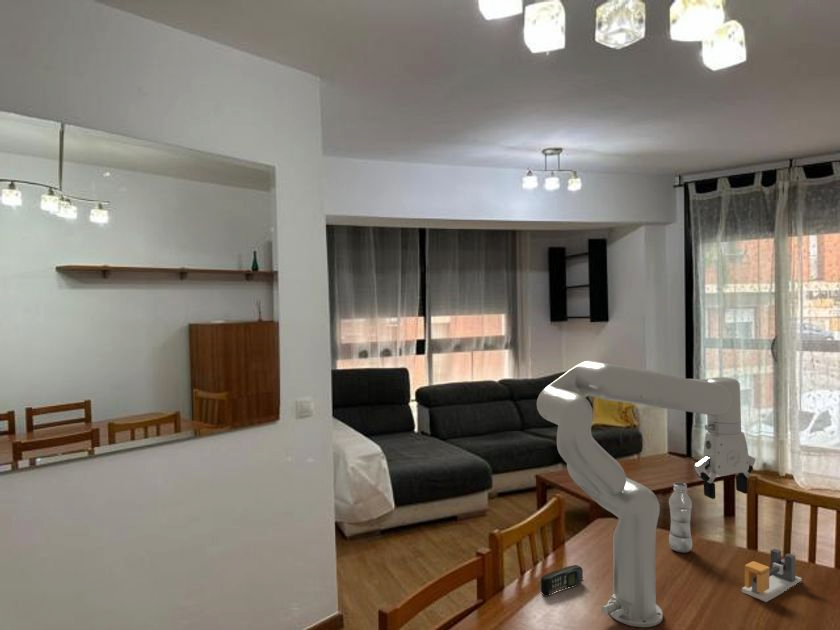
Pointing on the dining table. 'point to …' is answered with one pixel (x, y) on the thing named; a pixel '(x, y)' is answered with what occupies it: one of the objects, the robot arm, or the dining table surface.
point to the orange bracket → (761, 573)
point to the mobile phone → (561, 579)
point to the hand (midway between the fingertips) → (726, 494)
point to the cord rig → (776, 577)
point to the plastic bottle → (680, 519)
